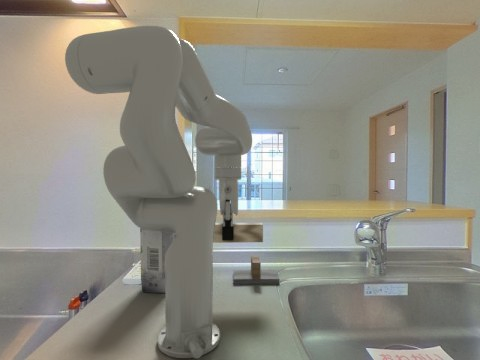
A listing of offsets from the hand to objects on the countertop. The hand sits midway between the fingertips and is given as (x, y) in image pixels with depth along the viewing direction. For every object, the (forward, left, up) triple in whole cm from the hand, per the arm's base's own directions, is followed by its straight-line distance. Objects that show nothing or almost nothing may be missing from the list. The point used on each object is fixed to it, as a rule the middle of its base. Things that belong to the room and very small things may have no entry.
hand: (227, 238), depth 84 cm
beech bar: (0, 0, -1) cm, 1 cm away
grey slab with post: (+4, -11, -15) cm, 20 cm away
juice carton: (+11, +17, -15) cm, 26 cm away
